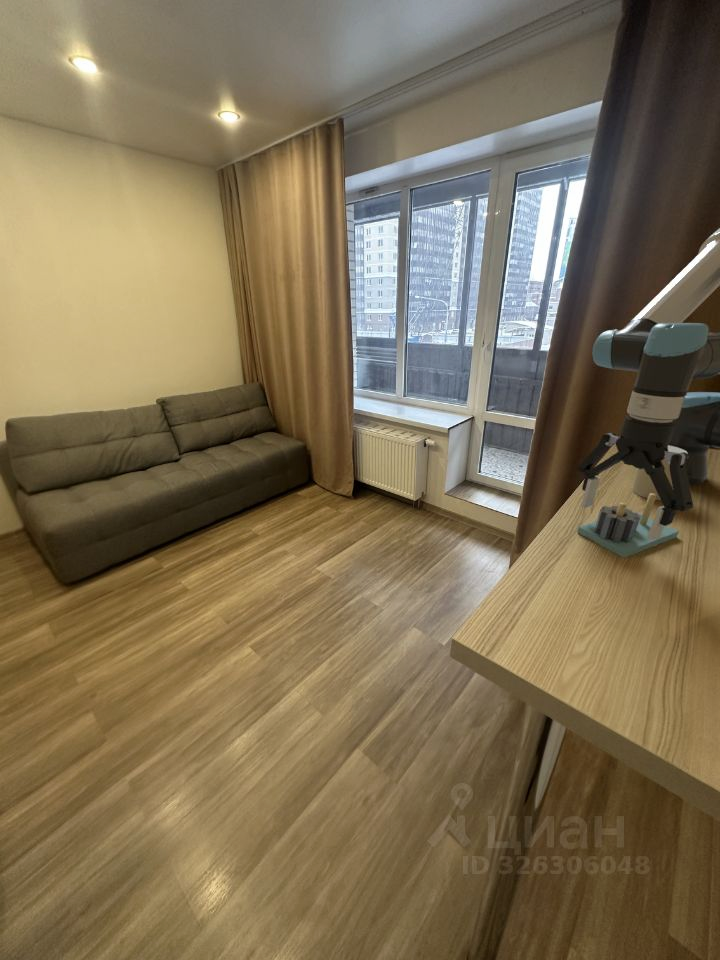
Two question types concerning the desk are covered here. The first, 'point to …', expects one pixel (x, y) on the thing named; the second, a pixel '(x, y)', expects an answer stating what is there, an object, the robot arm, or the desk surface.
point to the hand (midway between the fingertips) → (617, 520)
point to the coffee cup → (644, 482)
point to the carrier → (639, 535)
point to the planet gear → (616, 524)
